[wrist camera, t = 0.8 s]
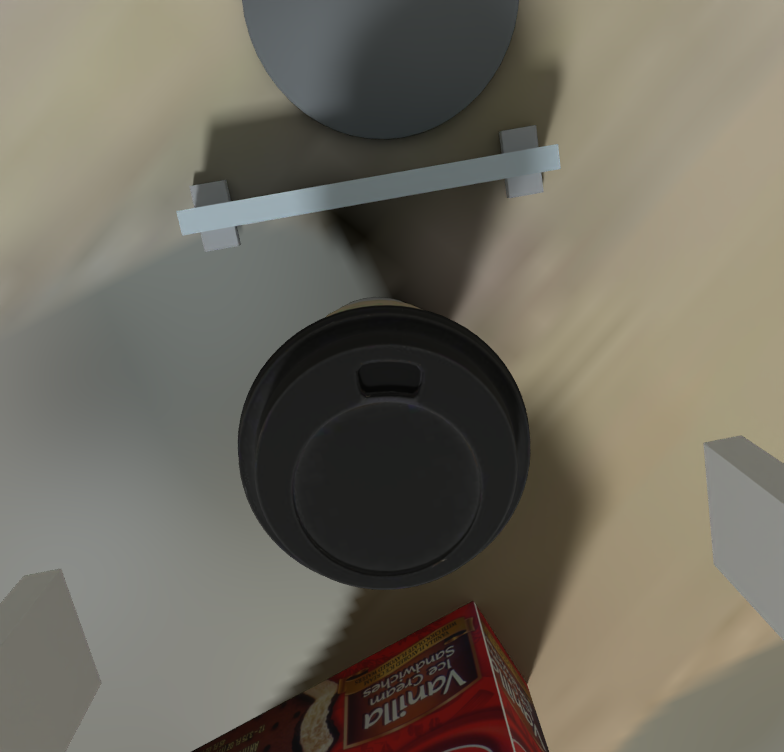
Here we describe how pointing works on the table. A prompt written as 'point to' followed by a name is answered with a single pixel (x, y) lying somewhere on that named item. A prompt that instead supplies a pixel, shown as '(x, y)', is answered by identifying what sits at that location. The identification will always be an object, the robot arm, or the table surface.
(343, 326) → the coffee cup
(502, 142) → the grey bar handle
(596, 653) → the table surface
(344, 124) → the coaster
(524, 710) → the ice cream box
